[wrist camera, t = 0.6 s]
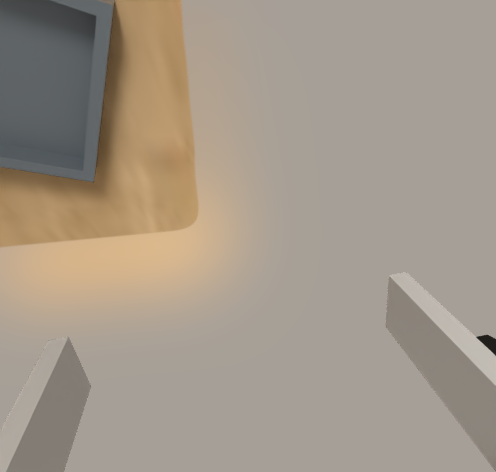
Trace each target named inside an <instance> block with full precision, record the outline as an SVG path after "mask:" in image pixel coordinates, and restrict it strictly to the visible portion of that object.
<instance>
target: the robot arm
mask: <svg viewBox="0 0 496 472" xmlns="http://www.w3.org/2000/svg"><path fill="white" fill-rule="evenodd" d="M386 328H387V329H388V330H389V332H390V333H391V334H392V336H393V337H394V338H395V340H396V341H397V342H398V344H399V345H400V346H401V348H402V349H403V350H404V351H405V353H406V354H407V355H408V357H409V358H410V359H411V361H412V362H413V363H414V364H415V366H416V367H417V369H418V370H419V371H420V372H421V374H422V375H423V376H424V378H425V379H426V380H427V382H428V383H429V384H430V386H431V387H432V388H433V389H434V391H435V392H436V393H437V395H438V396H439V397H440V399H441V400H442V401H443V403H444V404H445V405H446V407H447V408H448V409H449V411H450V412H451V413H452V415H453V416H454V417H455V419H456V420H457V421H458V422H459V423H460V425H461V426H462V428H463V429H464V430H465V432H466V433H467V434H468V436H469V437H470V438H471V440H472V441H473V442H474V444H475V445H476V446H477V447H478V449H479V450H480V451H481V453H482V454H483V455H484V457H485V458H486V459H487V461H488V462H489V463H490V464H491V466H492V467H493V468H494V470H495V471H496V339H495V338H493V337H491V336H489V335H484V336H479V337H475V336H474V335H473V334H472V333H471V332H470V331H469V330H468V329H466V328H465V327H464V326H463V325H462V324H461V323H460V322H459V321H458V320H457V319H456V318H455V317H454V316H453V315H452V314H450V313H449V312H448V311H447V310H446V309H445V308H444V307H443V306H442V305H441V304H440V303H439V302H438V301H437V300H435V299H434V298H433V297H432V296H431V295H430V294H429V293H428V292H427V291H426V290H425V289H424V288H423V287H422V286H421V285H419V284H418V283H417V282H416V281H415V280H414V279H413V278H412V277H411V276H410V275H409V274H408V273H407V272H405V273H400V274H395V275H389V284H388V299H387V314H386ZM90 388H91V385H90V383H89V381H88V378H87V376H86V374H85V372H84V370H83V367H82V365H81V363H80V361H79V359H78V356H77V354H76V352H75V350H74V348H73V346H72V343H71V341H70V339H69V337H64V338H59V339H54V340H49V341H48V342H47V344H46V346H45V348H44V350H43V352H42V353H41V355H40V357H39V359H38V361H37V363H36V365H35V367H34V369H33V371H32V372H31V374H30V376H29V378H28V380H27V382H26V383H25V385H24V387H23V389H22V391H21V393H20V395H19V397H18V399H17V400H16V402H15V404H14V406H13V408H12V410H11V412H10V414H9V415H8V417H7V419H6V421H5V423H4V425H3V427H2V429H1V431H0V472H64V470H65V467H66V463H67V460H68V457H69V454H70V451H71V448H72V445H73V441H74V438H75V435H76V432H77V429H78V426H79V422H80V419H81V416H82V413H83V410H84V407H85V404H86V401H87V398H88V395H89V391H90Z"/></svg>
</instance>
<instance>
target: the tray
mask: <svg viewBox="0 0 496 472" xmlns="http://www.w3.org/2000/svg"><path fill="white" fill-rule="evenodd" d="M114 3H115V0H0V167H5V168H11V169H17V170H23V171H29V172H35V173H41V174H47V175H53V176H59V177H65V178H71V179H77V180H83V181H89V182H94V177H95V172H96V165H97V156H98V147H99V138H100V129H101V120H102V111H103V102H104V93H105V84H106V75H107V66H108V57H109V48H110V39H111V30H112V21H113V12H114Z"/></svg>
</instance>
